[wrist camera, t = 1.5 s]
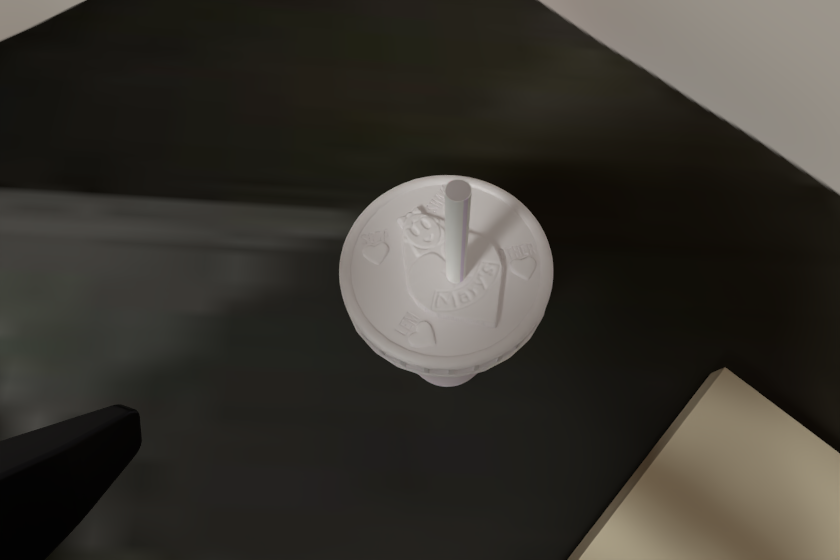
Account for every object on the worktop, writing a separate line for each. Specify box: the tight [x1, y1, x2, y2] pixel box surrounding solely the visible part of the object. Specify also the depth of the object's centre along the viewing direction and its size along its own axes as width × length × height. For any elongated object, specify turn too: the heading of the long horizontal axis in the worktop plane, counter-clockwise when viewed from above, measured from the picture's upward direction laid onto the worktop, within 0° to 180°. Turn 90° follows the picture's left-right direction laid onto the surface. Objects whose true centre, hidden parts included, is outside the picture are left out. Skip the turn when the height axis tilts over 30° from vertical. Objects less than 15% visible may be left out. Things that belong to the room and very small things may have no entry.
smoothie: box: [339, 175, 553, 387], centre depth 16 cm, size 6×6×14 cm
